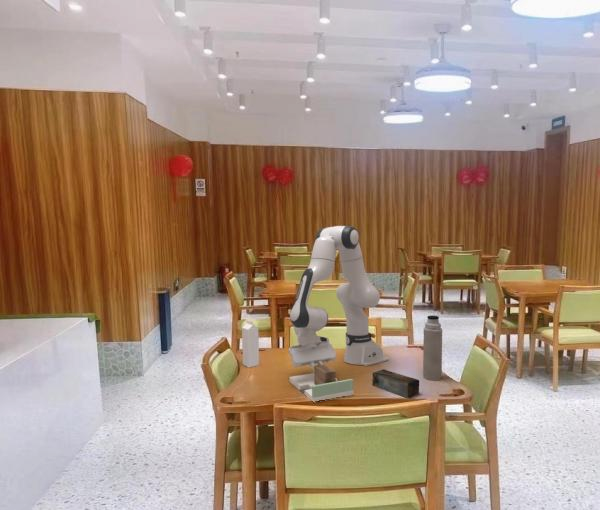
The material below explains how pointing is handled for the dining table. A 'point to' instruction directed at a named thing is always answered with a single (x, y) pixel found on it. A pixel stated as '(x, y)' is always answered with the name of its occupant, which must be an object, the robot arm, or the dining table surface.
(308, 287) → the robot arm
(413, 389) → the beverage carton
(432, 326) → the thermos bottle
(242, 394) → the dining table surface
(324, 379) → the walnut block
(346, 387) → the grey tray
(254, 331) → the milk
